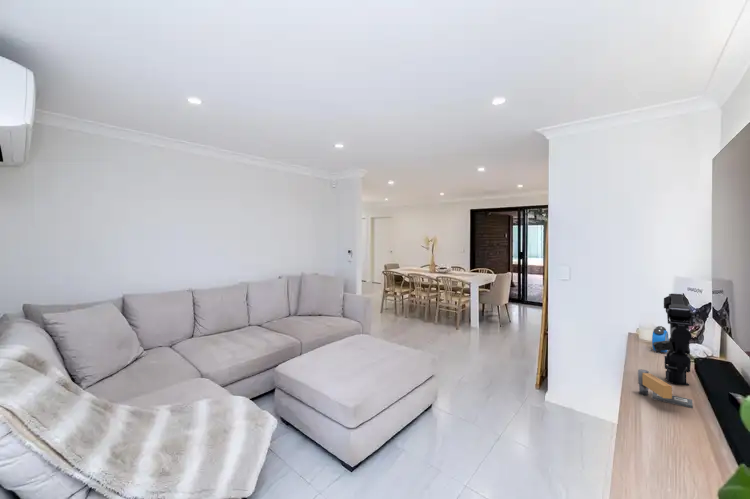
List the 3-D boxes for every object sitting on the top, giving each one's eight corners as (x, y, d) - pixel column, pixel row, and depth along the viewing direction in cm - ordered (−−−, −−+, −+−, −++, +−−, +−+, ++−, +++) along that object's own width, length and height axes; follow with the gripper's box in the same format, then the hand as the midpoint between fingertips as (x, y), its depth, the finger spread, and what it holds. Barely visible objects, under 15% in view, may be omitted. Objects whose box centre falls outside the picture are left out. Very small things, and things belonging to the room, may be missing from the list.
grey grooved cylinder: (645, 392, 145) (645, 383, 145) (649, 395, 142) (649, 386, 142) (637, 392, 145) (637, 383, 145) (641, 395, 142) (641, 386, 142)
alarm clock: (665, 355, 192) (664, 329, 192) (651, 352, 197) (651, 328, 197) (668, 350, 201) (668, 326, 201) (655, 347, 205) (655, 324, 205)
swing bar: (636, 382, 146) (636, 369, 146) (645, 382, 145) (645, 369, 145) (662, 399, 129) (662, 384, 129) (672, 400, 128) (672, 385, 128)
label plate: (651, 398, 139) (651, 395, 139) (653, 393, 144) (652, 390, 144) (692, 408, 130) (692, 404, 130) (692, 402, 135) (692, 398, 135)
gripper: (655, 329, 147) (656, 363, 148) (652, 338, 134) (653, 375, 134) (689, 333, 140) (690, 369, 140) (690, 343, 126) (691, 383, 126)
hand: (680, 373), depth 135 cm, fingers closed
